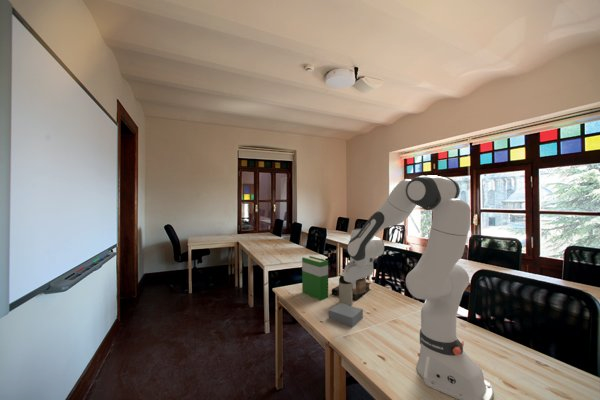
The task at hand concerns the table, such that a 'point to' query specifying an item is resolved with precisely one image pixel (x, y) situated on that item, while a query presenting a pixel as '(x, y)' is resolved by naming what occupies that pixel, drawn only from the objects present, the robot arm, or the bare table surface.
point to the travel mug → (345, 291)
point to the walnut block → (360, 286)
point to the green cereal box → (315, 277)
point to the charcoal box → (345, 314)
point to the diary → (354, 295)
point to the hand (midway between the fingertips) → (358, 286)
